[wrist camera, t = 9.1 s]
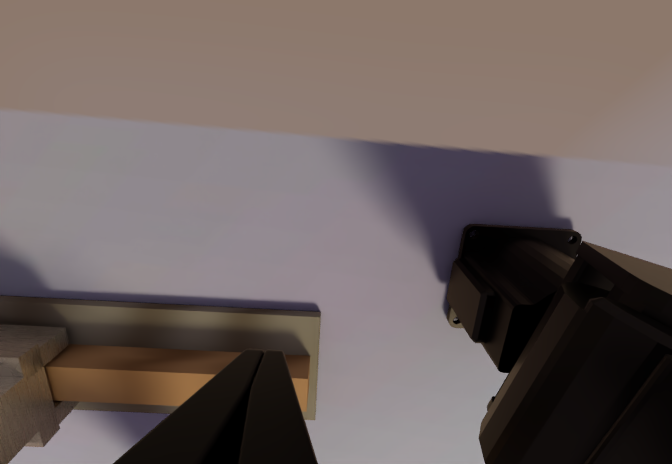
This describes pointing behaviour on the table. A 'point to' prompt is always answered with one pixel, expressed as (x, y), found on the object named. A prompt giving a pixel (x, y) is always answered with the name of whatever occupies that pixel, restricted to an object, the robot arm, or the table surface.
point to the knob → (28, 387)
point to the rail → (161, 349)
